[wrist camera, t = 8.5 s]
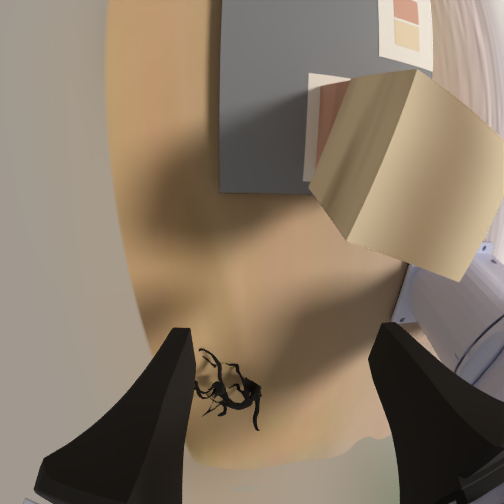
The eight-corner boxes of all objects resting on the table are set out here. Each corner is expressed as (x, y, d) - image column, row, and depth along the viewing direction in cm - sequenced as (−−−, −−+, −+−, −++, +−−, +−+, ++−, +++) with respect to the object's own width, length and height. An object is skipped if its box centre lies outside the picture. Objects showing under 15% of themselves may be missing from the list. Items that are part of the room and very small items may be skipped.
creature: (191, 387, 29) (266, 401, 27) (174, 427, 24) (256, 446, 23) (180, 335, 25) (271, 351, 24) (156, 381, 20) (259, 403, 19)
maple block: (441, 131, 11) (518, 156, 6) (400, 224, 13) (459, 282, 8) (351, 78, 10) (417, 69, 5) (308, 187, 12) (346, 241, 8)
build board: (422, -13, 11) (428, -16, 10) (412, 198, 18) (418, 202, 18) (226, -49, 10) (225, -55, 10) (220, 189, 18) (219, 193, 17)
